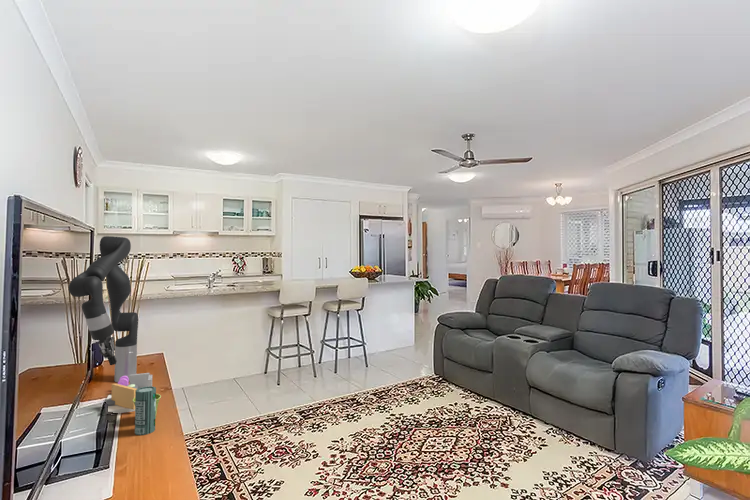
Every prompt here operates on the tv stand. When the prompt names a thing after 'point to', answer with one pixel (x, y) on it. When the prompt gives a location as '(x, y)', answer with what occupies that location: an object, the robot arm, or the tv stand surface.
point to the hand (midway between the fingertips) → (113, 363)
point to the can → (145, 410)
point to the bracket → (123, 381)
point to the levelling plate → (118, 408)
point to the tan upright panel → (122, 396)
